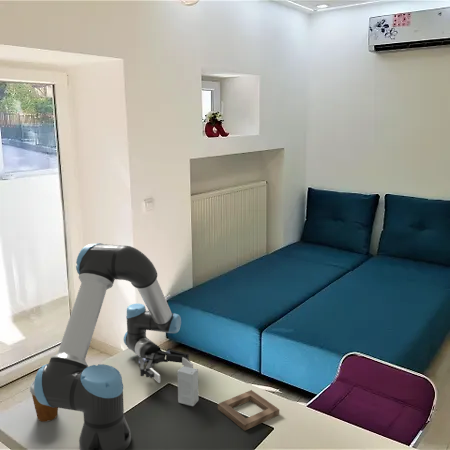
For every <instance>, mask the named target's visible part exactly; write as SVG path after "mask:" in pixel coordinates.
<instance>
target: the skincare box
mask: <svg viewBox="0 0 450 450" xmlns="http://www.w3.org/2000/svg"><path fill="white" fill-rule="evenodd" d="M176 372H177V401H178V402H177V403H179V404H183V405H186V406H190V407H194V406H195V405H196V404H197V403H198V402H199V369H197V368H194V367H193V368H190V367H185V366H184V365H182V367H180V368H179V369H178V370H177V371H176Z"/></svg>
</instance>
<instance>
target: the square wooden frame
mask: <svg viewBox="0 0 450 450" xmlns="http://www.w3.org/2000/svg"><path fill="white" fill-rule="evenodd" d="M249 402H251V403H253V404H254V405H256V406H257V407H258V408H259V409H260V410H261V409H262V411H259V412H257V413H256V414H253V415H251V416H249V417H245V416H243V415H242V414H241V413H239V412H238V411H237V410H236V409H234V408H237V407H239V406H240V405H243V404H246V403H249ZM217 410H218V411H219V412H220V413H222V414H223V415H225V416H226V417H227V418H228V419H229V420H231V421H232V422H233V423H234V424H236V425H237V426H238V427H239V428H240V429H242V430H243V431H247V430H249V429H252V428H253V427H256V426H258V425H261V424H263V423H265V422H267V421H268V420H271V419H273V418H275V417H278V416H279V415H280V409H279V408H278V407H277V406H275V405H273V404H272V403H271V402H269V401H268V400H266V399H265V398H264V397H262V396H261V395H259V394H258V393H256V392H255V391H254V390H252V389H251V390H250V389H249V390H248V391H245V392H244V393H240V394H238V395H236V396H233V397H230V398H229V399H225V400H224V401H221V402H219V403H217Z"/></svg>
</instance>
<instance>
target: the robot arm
mask: <svg viewBox="0 0 450 450" xmlns="http://www.w3.org/2000/svg"><path fill="white" fill-rule="evenodd" d="M75 263H76V265H75V269H76V270H75V271H76V273H77V275H78V280H79V281H80V283H81V284H80V287H79V290H78V292H77V295H76V298H75V301H74V304H73V307H72V310H71V312H70V313H71V314H70V316H69V319H68V322H67V325H66V327H65V331H64V334H63V336H62V338H61V343H60V345H59V348H58V351H57V353H56V354H54V355H52V356H51V357H50V359H49V362H48V363H46V364H44V365H42V366H40V368H38V370H37V371H36V375H35V377H34V380H33V381H34V393H35V397H36V399H37V400H38V402H39V403H41V404H43V405H47V406H50V407H53V408H54V407H57V408H58V409H63V410H70V411H77V412H82V413H83V425H82V428H81V432H80V435H79V438H78V442H79V443H78V444H79V450H127V448H128V447H129V446H130V444H131V441H132V436H131V435H132V434H131V429H130V427H129V424H128V422H127V420H126V418H125V412H124V411H125V410H124V383H123V377H122V374H121V373H120V371H119V370H118V369H117V368H116V367H115V366H112V365H108V364H101V363H99V364H97V365H96V364H93V365H88V364H87V362H86V358H87V355H88V351H89V349H90V345H91V343H92V342H91V341H92V339H93V336H94V332H95V329H96V325H97V322H98V320H99V317H100V313H101V310H102V306H103V303H104V300H105V296H106V295H107V294H106V292H107V290H109V289H111V288H112V287H113V286H114V283H115V280H117V281H118V280H119V281H122V280H123V281H127V282H129V283H131V285H132V287H134V288H135V289H137V290H138V292H139V294H140V296H141V298H142V300H143V302H144V304H145V305H144V304H142V303H131V304H130V305H129V306H127V308H126V315H125V316H126V332H125V334H124V336H123V343H124V345H125V346H126V347H127V348H128V349H129V350H131V351H132V352H133V353H135V355H137V356H138V365H139V366H140V367H139V370H140V377H144V376H145V377H146V378H151V379H154V380H155V381H156V383H159V384H160V383H161V374H159V372H157V371H156V370H154V368H153V367H154V366H155V364H156V365H157V364H159V363H168V362H172V363H178V364H179V363H180V364H181V365H182V366H185V367H190V368H194V363H192V362H191V359H189V357H190V355H189V353H187V352H181V351H178V350H175V349H174V350H173V349H171V348H170V347H168V348H167V350H166V351H164V350H162V349H161V348H160V346H158V345H157V344H156V343H155V342H154V341H152V340H151V339H149V338H148V337H147V331H153V332H161V333H167V334H177V333H178V332H179V331H180V328H181V325H182V318H181V315H180V314H178V313H175V312H174V313H172V311H171V308H170V306H169V303H168V301H167V300H166V297H165V295H164V292H163V290H162V287H161V286H160V283H159V281H158V272H157V270H156V267H155V265H154V263H153V262H152V261H151V260H150V259H149V258H148V256H147V255H145V253H143V252H142V251H140V250H139V249H137V248H135V247H133V246H130V245H118V244H107V243H106V244H104V243H98V242H97V243H89V244H87V245H85V246H83V248H81V250H80V251H79V253H78V255H77V257H76V262H75ZM146 308H147V309H146ZM145 363H146V364H147V365H146V367H145V368H144V365H145Z"/></svg>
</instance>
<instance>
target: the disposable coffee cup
mask: <svg viewBox="0 0 450 450" xmlns="http://www.w3.org/2000/svg"><path fill="white" fill-rule="evenodd" d="M34 381H35V380H33V381H32V382H31V384H30V387H29V389H28V390H29V392H30V394H31V397H32V401H33V404H34V409H35V413H36V418H37V420H38V421H40V422H42V423H43V422H51V421H53V420H54V419H56V418H57V417H58V415H59V412H58V411H59V408H57V407H54V408H53V407H50V406H47V405H43V404H41V403H39V402H38V400H37V399H36V397H35V393H34Z"/></svg>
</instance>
